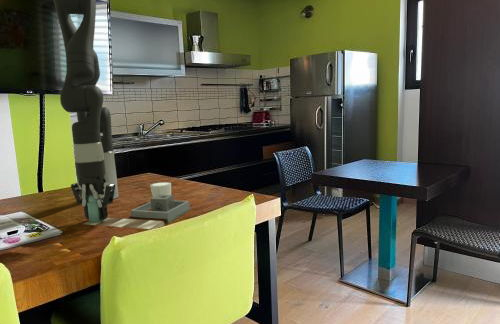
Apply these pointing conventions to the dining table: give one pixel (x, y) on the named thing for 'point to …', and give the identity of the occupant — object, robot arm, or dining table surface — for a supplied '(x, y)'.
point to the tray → (171, 215)
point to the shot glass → (161, 188)
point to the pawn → (93, 210)
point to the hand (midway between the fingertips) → (96, 218)
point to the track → (121, 222)
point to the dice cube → (162, 203)
